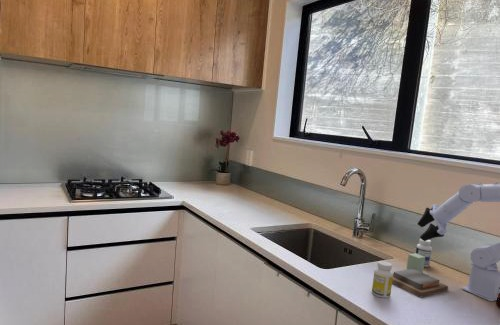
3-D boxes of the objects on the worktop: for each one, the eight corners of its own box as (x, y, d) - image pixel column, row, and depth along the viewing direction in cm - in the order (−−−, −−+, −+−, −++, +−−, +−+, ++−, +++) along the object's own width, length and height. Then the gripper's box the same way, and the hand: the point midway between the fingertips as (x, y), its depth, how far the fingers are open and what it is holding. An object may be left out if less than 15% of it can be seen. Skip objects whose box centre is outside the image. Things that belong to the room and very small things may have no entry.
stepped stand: (447, 290, 124) (448, 281, 123) (420, 297, 116) (422, 287, 116) (410, 273, 136) (411, 265, 135) (383, 278, 128) (384, 270, 128)
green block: (422, 272, 138) (425, 256, 137) (415, 274, 136) (418, 258, 135) (413, 268, 141) (415, 253, 141) (406, 270, 139) (408, 254, 138)
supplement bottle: (386, 291, 119) (390, 260, 117) (393, 299, 113) (397, 267, 112) (368, 289, 118) (373, 259, 117) (375, 297, 113) (379, 266, 112)
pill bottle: (416, 260, 151) (420, 236, 150) (430, 264, 147) (434, 240, 146) (412, 263, 147) (416, 239, 146) (427, 268, 143) (431, 243, 142)
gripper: (437, 191, 137) (410, 214, 145) (444, 216, 125) (414, 239, 133) (452, 201, 138) (424, 223, 146) (461, 227, 126) (430, 250, 134)
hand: (420, 232), depth 139 cm, fingers open, 7 cm apart
